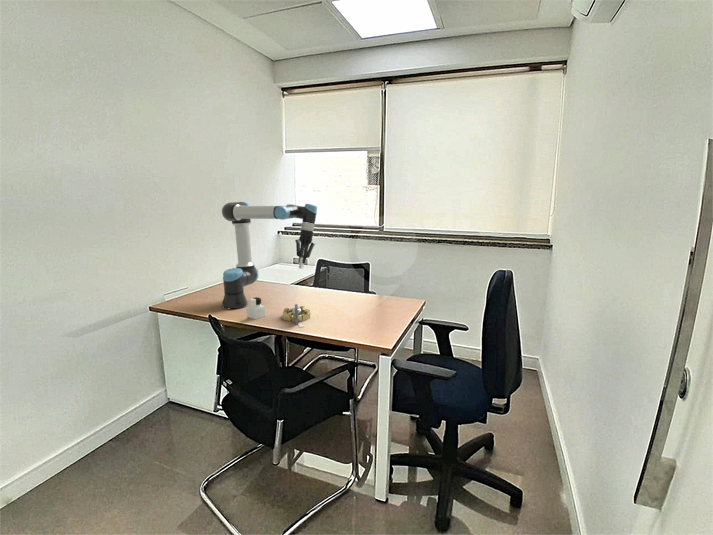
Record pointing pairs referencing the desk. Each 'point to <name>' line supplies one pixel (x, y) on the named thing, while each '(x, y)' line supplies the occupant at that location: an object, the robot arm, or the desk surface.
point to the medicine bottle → (255, 308)
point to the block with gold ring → (296, 314)
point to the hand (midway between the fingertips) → (300, 268)
